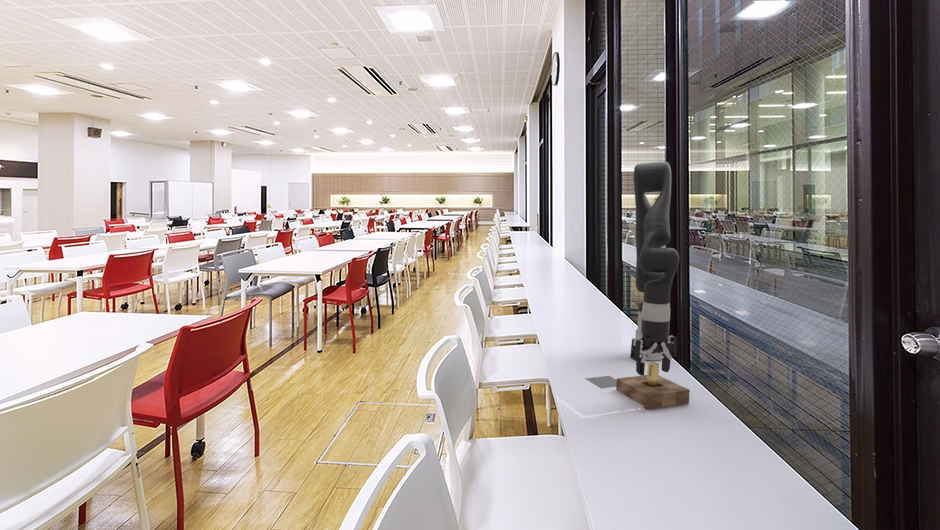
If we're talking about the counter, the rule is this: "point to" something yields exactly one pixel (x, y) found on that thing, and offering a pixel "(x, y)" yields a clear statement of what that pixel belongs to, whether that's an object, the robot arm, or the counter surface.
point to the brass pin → (652, 374)
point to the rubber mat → (603, 381)
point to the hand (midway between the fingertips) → (652, 372)
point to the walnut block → (653, 392)
